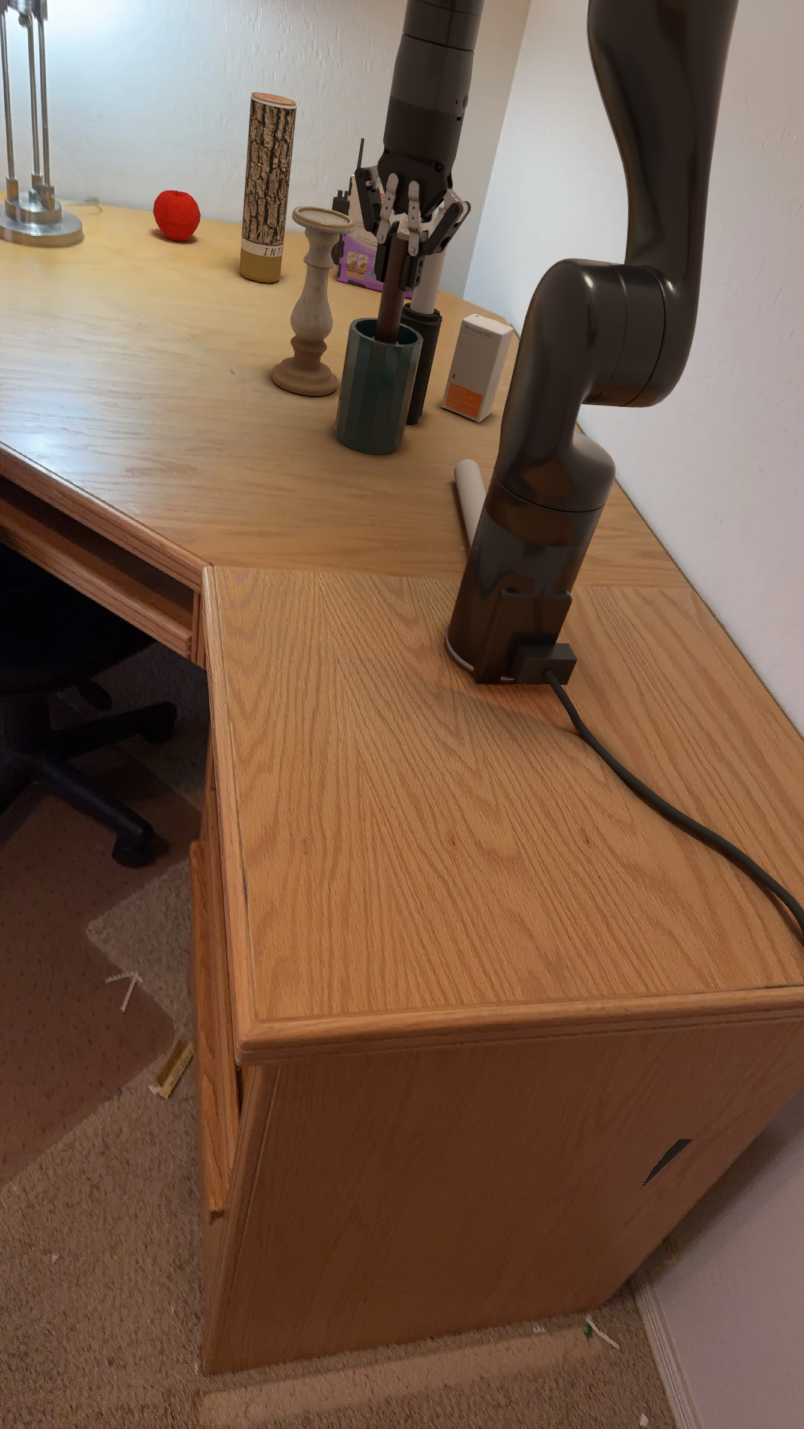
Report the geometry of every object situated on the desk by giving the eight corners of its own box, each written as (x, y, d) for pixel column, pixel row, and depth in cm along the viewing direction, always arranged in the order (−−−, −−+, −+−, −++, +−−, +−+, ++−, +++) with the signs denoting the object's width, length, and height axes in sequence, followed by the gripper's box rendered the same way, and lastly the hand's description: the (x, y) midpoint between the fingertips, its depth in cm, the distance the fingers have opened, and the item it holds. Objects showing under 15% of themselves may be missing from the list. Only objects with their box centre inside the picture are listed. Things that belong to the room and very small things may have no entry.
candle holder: (260, 383, 115) (275, 211, 101) (286, 363, 121) (304, 199, 108) (322, 403, 114) (346, 232, 100) (345, 382, 120) (370, 219, 107)
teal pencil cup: (407, 457, 107) (430, 350, 98) (340, 451, 104) (357, 341, 96) (393, 426, 113) (414, 322, 104) (329, 419, 110) (345, 313, 102)
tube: (505, 606, 87) (475, 484, 105) (514, 580, 85) (482, 460, 103) (476, 602, 86) (451, 480, 104) (484, 576, 84) (457, 456, 102)
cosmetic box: (439, 408, 120) (460, 318, 112) (452, 399, 123) (473, 311, 115) (479, 424, 119) (503, 334, 111) (491, 415, 122) (515, 327, 114)
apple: (185, 230, 157) (186, 183, 153) (208, 245, 154) (210, 198, 149) (144, 230, 153) (144, 182, 148) (167, 245, 149) (168, 197, 144)
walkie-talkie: (354, 265, 162) (373, 139, 149) (344, 267, 160) (362, 139, 146) (333, 256, 163) (350, 131, 150) (323, 258, 161) (339, 131, 148)
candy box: (416, 291, 157) (436, 188, 147) (412, 300, 153) (432, 194, 142) (342, 271, 157) (356, 167, 146) (335, 280, 153) (349, 173, 142)
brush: (395, 417, 105) (429, 246, 93) (358, 414, 104) (387, 239, 91) (387, 401, 108) (419, 233, 96) (351, 397, 107) (378, 226, 95)
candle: (415, 426, 114) (461, 214, 98) (378, 416, 114) (417, 202, 98) (422, 412, 118) (467, 205, 101) (386, 402, 118) (425, 194, 102)
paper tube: (232, 275, 144) (243, 93, 128) (249, 266, 149) (262, 90, 133) (270, 287, 143) (286, 105, 127) (286, 277, 149) (303, 102, 132)
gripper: (348, 79, 85) (324, 269, 96) (470, 118, 81) (430, 312, 92) (390, 81, 90) (362, 261, 102) (506, 118, 86) (465, 301, 97)
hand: (395, 284), depth 97 cm, fingers closed on brush, 2 cm apart
